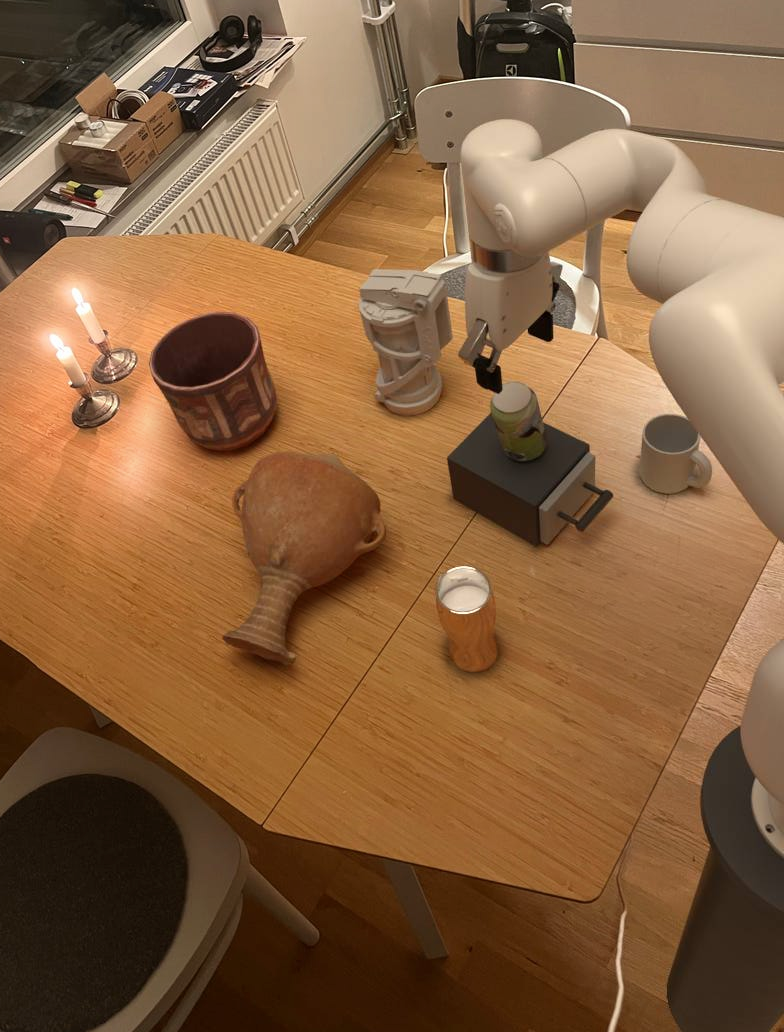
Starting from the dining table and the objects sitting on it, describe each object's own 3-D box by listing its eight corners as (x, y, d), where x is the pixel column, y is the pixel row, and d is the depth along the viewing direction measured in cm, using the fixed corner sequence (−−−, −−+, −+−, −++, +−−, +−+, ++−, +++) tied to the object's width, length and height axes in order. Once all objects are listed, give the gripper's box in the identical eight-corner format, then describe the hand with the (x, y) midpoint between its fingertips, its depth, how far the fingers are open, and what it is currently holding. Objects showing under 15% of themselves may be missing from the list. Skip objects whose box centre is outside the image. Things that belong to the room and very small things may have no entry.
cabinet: (589, 487, 130) (589, 444, 123) (537, 547, 126) (534, 505, 119) (504, 444, 139) (501, 401, 132) (453, 499, 134) (446, 457, 127)
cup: (659, 447, 132) (664, 405, 126) (723, 482, 126) (731, 440, 120) (628, 477, 130) (631, 436, 123) (691, 514, 124) (697, 473, 117)
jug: (419, 464, 124) (352, 671, 110) (364, 505, 141) (300, 690, 127) (291, 398, 121) (204, 602, 107) (249, 448, 138) (170, 630, 124)
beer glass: (437, 641, 120) (423, 579, 109) (484, 618, 120) (474, 554, 109) (462, 684, 115) (450, 625, 104) (511, 660, 116) (504, 598, 105)
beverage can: (556, 442, 125) (554, 382, 116) (524, 478, 122) (520, 418, 113) (517, 424, 128) (513, 364, 120) (486, 458, 126) (479, 399, 117)
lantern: (369, 408, 150) (340, 292, 132) (398, 365, 155) (374, 248, 137) (440, 428, 144) (420, 309, 126) (468, 383, 149) (453, 262, 131)
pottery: (251, 477, 146) (219, 401, 133) (165, 450, 154) (127, 375, 141) (304, 400, 155) (279, 321, 141) (221, 378, 163) (190, 301, 150)
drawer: (621, 504, 126) (623, 469, 120) (574, 560, 122) (574, 527, 116) (515, 449, 136) (512, 415, 131) (468, 500, 132) (463, 466, 127)
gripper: (526, 187, 98) (532, 307, 110) (424, 279, 92) (442, 395, 104) (588, 206, 94) (587, 329, 106) (485, 303, 87) (496, 422, 100)
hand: (515, 361), depth 105 cm, fingers open, 9 cm apart
